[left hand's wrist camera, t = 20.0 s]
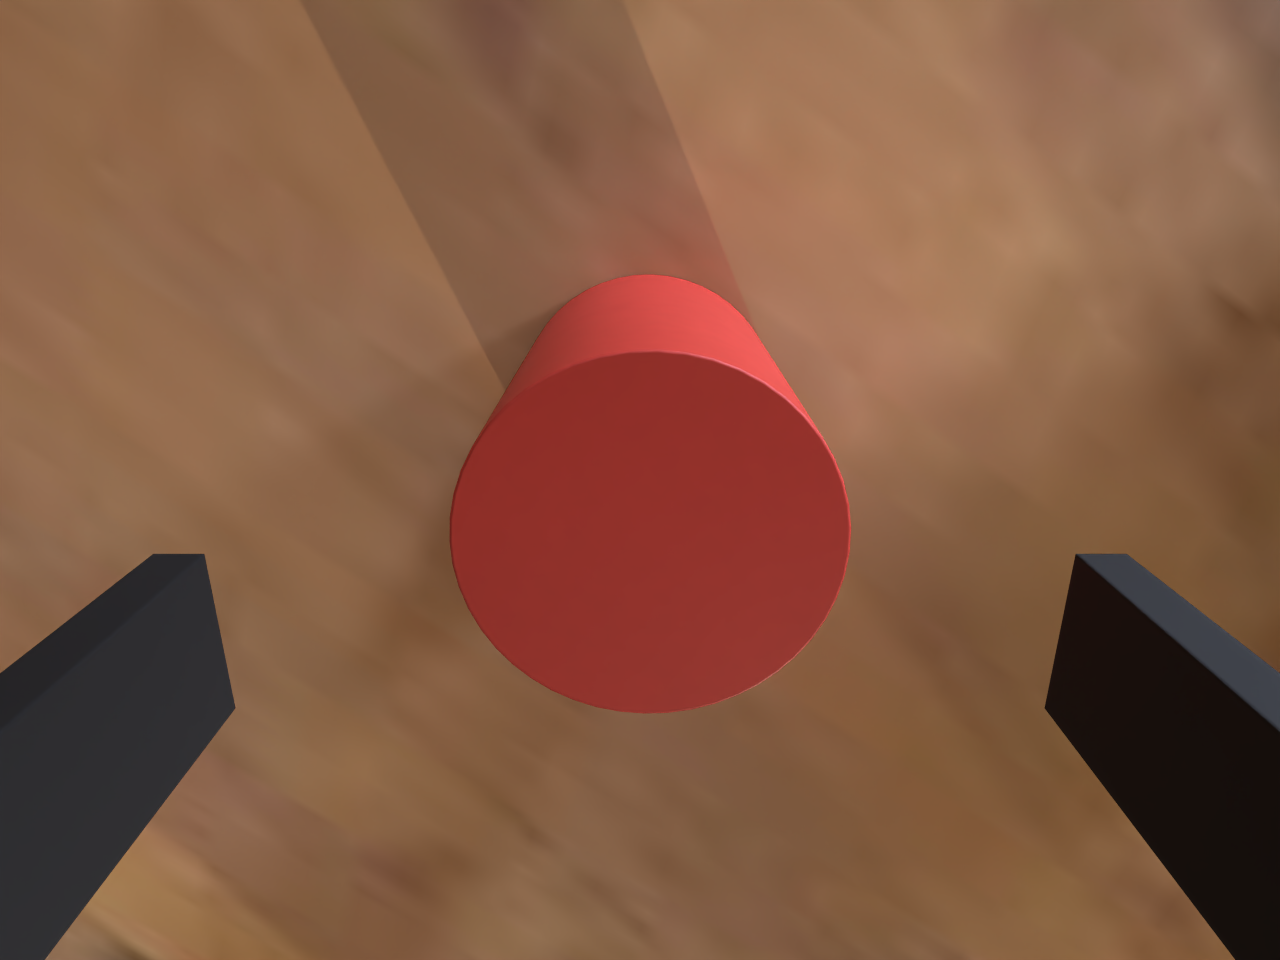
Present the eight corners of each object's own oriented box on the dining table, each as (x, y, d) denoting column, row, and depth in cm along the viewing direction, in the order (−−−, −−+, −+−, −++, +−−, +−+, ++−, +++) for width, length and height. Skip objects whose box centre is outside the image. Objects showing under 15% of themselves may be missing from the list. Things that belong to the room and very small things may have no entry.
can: (472, 419, 24) (371, 573, 15) (628, 217, 22) (618, 257, 13) (663, 560, 26) (674, 775, 17) (825, 385, 24) (936, 522, 15)
